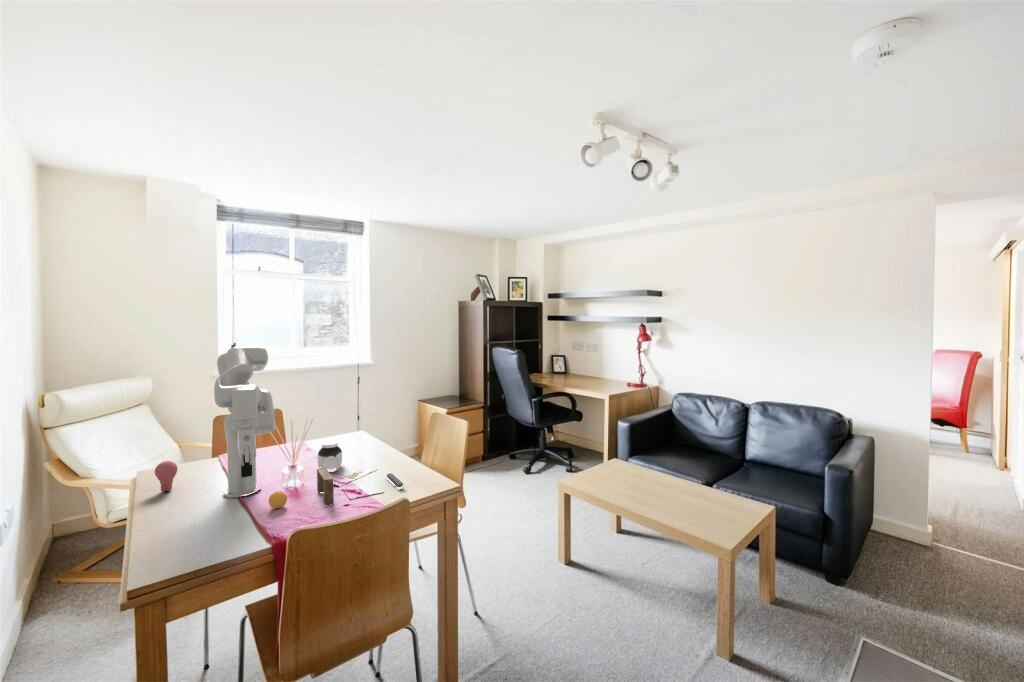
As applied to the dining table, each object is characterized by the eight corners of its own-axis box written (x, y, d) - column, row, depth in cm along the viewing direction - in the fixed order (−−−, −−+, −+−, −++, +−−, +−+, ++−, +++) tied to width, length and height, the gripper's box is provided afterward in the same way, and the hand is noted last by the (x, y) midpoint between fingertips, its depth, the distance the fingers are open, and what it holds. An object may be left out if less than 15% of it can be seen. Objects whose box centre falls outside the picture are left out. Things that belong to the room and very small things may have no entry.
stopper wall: (387, 479, 191) (386, 474, 191) (391, 478, 192) (391, 473, 192) (398, 490, 179) (398, 484, 179) (402, 489, 180) (402, 483, 180)
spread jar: (333, 463, 212) (332, 439, 211) (350, 467, 207) (350, 442, 206) (311, 471, 201) (311, 445, 201) (329, 475, 196) (328, 449, 196)
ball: (267, 506, 163) (267, 490, 163) (286, 503, 166) (286, 487, 166) (269, 512, 158) (269, 496, 158) (288, 509, 161) (288, 492, 161)
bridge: (325, 506, 164) (324, 480, 163) (317, 492, 176) (317, 468, 176) (333, 504, 165) (333, 478, 165) (325, 491, 178) (325, 467, 177)
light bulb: (173, 486, 182) (172, 457, 181) (181, 490, 178) (180, 460, 178) (152, 492, 176) (151, 462, 175) (160, 496, 172) (159, 465, 172)
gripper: (259, 426, 151) (260, 480, 151) (256, 418, 163) (257, 468, 164) (233, 429, 147) (234, 484, 147) (232, 421, 159) (233, 472, 160)
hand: (246, 476), depth 156 cm, fingers closed
